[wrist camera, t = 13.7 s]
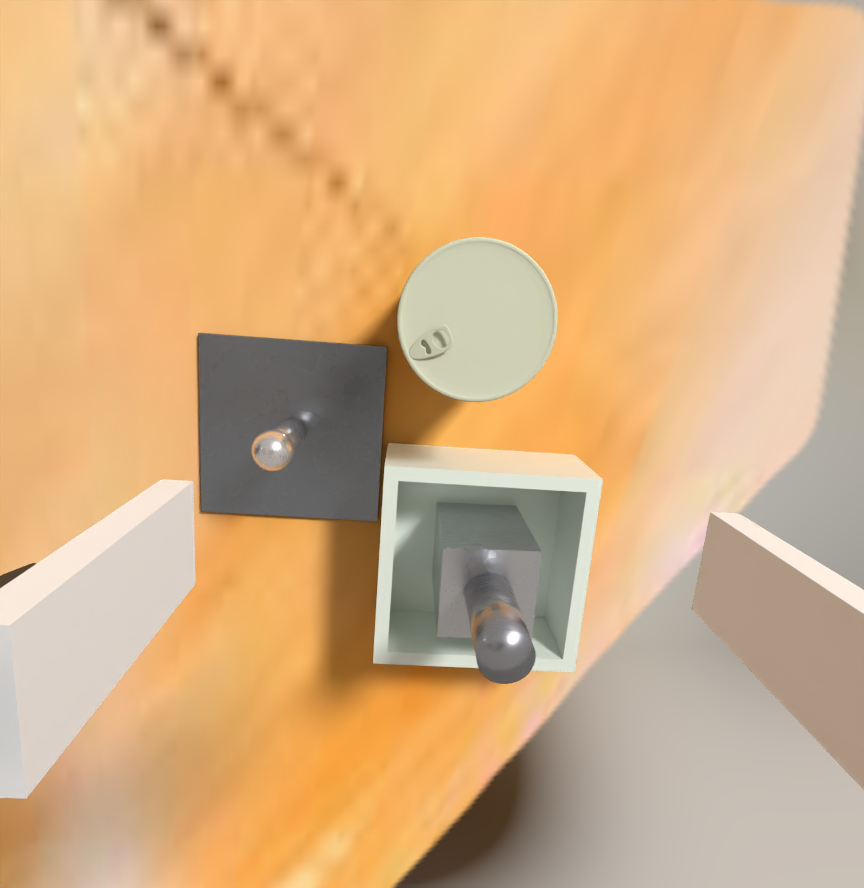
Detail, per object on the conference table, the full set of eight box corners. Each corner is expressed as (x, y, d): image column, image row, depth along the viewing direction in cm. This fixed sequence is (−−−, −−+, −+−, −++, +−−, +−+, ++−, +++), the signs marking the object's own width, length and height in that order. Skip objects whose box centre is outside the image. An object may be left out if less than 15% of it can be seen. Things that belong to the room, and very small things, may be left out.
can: (378, 290, 43) (366, 282, 31) (489, 233, 42) (520, 203, 30) (432, 400, 45) (440, 431, 33) (539, 347, 44) (586, 360, 32)
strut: (431, 576, 47) (443, 707, 31) (436, 502, 45) (451, 601, 30) (509, 579, 47) (558, 710, 32) (516, 505, 46) (571, 605, 30)
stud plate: (203, 509, 46) (160, 550, 38) (200, 332, 43) (153, 337, 35) (377, 519, 47) (371, 561, 39) (387, 346, 44) (382, 354, 36)
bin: (378, 614, 49) (372, 663, 42) (388, 442, 45) (384, 465, 38) (551, 622, 49) (574, 672, 43) (574, 454, 46) (602, 479, 39)
